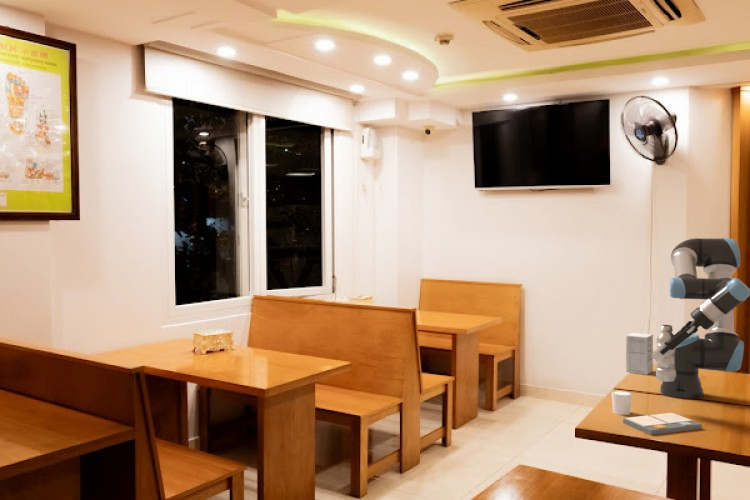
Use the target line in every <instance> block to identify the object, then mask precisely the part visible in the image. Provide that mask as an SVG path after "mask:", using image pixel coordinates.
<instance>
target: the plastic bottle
mask: <svg viewBox="0 0 750 500" xmlns="http://www.w3.org/2000/svg"><path fill="white" fill-rule="evenodd" d="M660 331H661V332H660V334H659V335H658V336H657V338H656V346H657V349H658V350H659V349H660V348H661V347H663V346H664V345H665V344H664V343H665V342H666V343H668V342H670V341H671V340H672V339H673V338H674V337H675V336H674V335H675V334H673V325H671V324H661V325H660ZM675 349H676V347H675V348H674V350H671V351H670V352H669V353H667V354H666V355H665V356H664V357H662V358H661V359H660V360H659V361H657V364H656V365H657V366H656V369H655V370H656V371H655V376H656V379H657V381H658V380H659V381H661V382H663V381H665V382H670V381H674V380H675V379H676V369H675Z"/></svg>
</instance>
